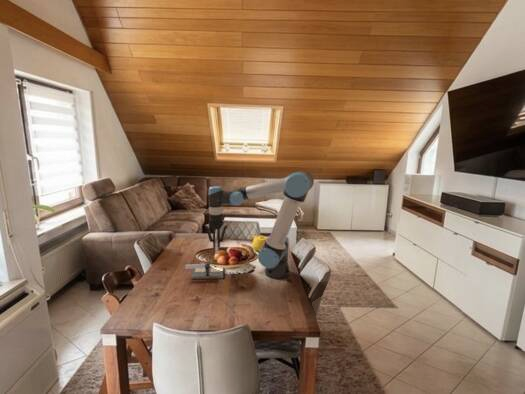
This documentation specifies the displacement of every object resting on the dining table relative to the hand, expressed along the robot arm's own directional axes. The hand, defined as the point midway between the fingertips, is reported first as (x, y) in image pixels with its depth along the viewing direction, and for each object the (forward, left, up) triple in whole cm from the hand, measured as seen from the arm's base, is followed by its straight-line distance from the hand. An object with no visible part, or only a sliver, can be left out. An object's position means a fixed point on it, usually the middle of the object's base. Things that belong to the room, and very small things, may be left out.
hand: (216, 252), depth 179 cm
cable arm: (+10, +6, -6) cm, 14 cm away
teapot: (-29, -36, -13) cm, 48 cm away
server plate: (+5, +1, -12) cm, 13 cm away
